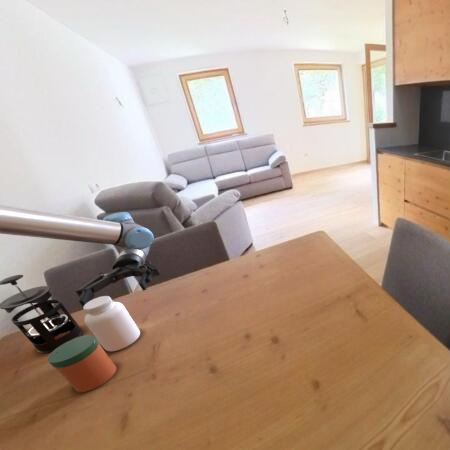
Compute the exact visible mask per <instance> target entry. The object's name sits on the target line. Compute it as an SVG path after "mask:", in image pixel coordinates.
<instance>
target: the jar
mask: <svg viewBox="0 0 450 450" xmlns="http://www.w3.org/2000/svg"><path fill="white" fill-rule="evenodd" d="M54 368H55V369H56V370H57V371H58V372H59V373H60V375H61V376H62V377H63V378H64V380H66V381H67V383H69V385H70V386H71V387H72V388H73V389H74V390H75V391H76V392H78V393H85V392H88V391H89V392H90V391H92V390H94V389H96V388H99V387H100V386H102V385H103V384H105V383H106V382H107V381H109V380H110V379H111V378H112V377H113V376H114V375H115V373H116V372H117V365H116V364H115V363H114V362H113V361H112V359H111V358H110V356H109V355H108V353H106V350H105V349H104V348H103V346H102V345H101V344H100V343H99V344H98V347H97V348H96V349H95V350H94V351H93V352H92V353H91V354H90V355H88V356H87V357H85V358H84V359H82V360H80V361H78V362H76V363H74V364H72V365H69V366H66V367H61V368H56V367H54Z"/></svg>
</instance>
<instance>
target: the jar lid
mask: <svg viewBox="0 0 450 450" xmlns="http://www.w3.org/2000/svg"><path fill="white" fill-rule="evenodd" d="M98 344H99V345H100V342H99V341H98V339H97V338H96V337H95V335H94V334H84V335H81V336H80V337H77V338H74V339H72V340H70V341H68V342H66V343H64V344H62V345H61V346H59V347H58V348H56V349H55V350H54V351H53V352H51V353H49V355H48V357H47V362H48V363H49V364H50V365H51V366H52V367H53V368H55V367H56V368H61V367H66V366H69V365H72V364H74V363H76V362H78V361H80V360H82V359H84V358H85V357H87V356H88V355H90V354H91V353H92V352H93V351H94V350H95V349H96V348H97V347H98ZM56 368H55V369H56Z"/></svg>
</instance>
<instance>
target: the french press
mask: <svg viewBox="0 0 450 450" xmlns="http://www.w3.org/2000/svg"><path fill="white" fill-rule="evenodd" d="M23 277H24V275H23V274H16V275H11V276H9V277H6V278H4V279H2V280H0V286H3V285H8V284H10V285H11V286H14V287H15V288H16V289H17V290H18V291H19V292H18V293H15V294H12V295H11V296H9V297H7V298H6V299H4V300H2V301H1V302H0V309H1V310H5V312H6V313H8V314H10V313H12V312H13V311H14V310H15V309H16V308H18V307H21V306H24V305H28V304H29V306H27V307H25V308H23V309H22V310H19V311H18V312H17V313H15V314H14V315H13V316H12V317H11V319H10V321H11V322H12V323H13V324H14V325H15V326H16V327H17V328H18V329H19V330H20V331H21V333H22V334H23V335H24V336H25V337H26V338H27V339H28V340H29V341H30V342H31V344H32V345H33V347H34V348H35V349H36V351H37V353H38V354H43V355H45V354H51V353H52V352H53V351H54V350H55V349H56V348H58V347H59V346H61V345H62V344H64V343H66V342H68V341H70V340H72V339H74V338H77V337H80V336H83V334H84V332H85V331H84V328H83V327H80V325H79V324H78V322H77V321H76V320H75V318H74V317H73V316H72V315H71V313H70V312H69V311H68V309H66V307H65V305H64V304H63V302H62V301H61V300H60V299H57V298H54V299H52V296H53V294H52V293H51V287H50V286H47V285H42V286H36V287H32V288H29V289H25V290H22V289H21V288H20V287H19V286H18V282H17V281H19V280H21V279H22V278H23ZM50 298H51V299H50ZM53 304H56V305H55V306H54V305H53ZM38 308H39V310H40V311H41V312H42V314H41V312H40V311H39V310H38ZM59 310H62V312H63V313H62V314H60V313H59ZM31 311H35V312H36V313H37V314H38V315H37V316H35V317H33V318H29V319H25V320H21V321H19V319H20V318H21V317H23V316H24V315H26V314H27V313H30V312H31ZM28 325H31V327H30V328H29V329H27V328H26V327H25V326H28ZM62 334H64V335H62ZM59 335H62V336H60V337H58V336H59ZM56 337H58V338H56Z"/></svg>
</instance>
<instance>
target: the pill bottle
mask: <svg viewBox="0 0 450 450" xmlns="http://www.w3.org/2000/svg"><path fill="white" fill-rule="evenodd" d="M82 308H83V310H84V312H85V313H86V314H85V316H84V323H85V325H86V326H87V327H88V329H89V330H90V331H91V333H92V335H93V336H94V337H95V338H96V339H97V341H98V342H99V344H100V346H101V347H102V348H103V350H104V351H107V352H116V351H120V350H123V349H125V348H127V347H129V346H131V345H133V343H134V342H136V341H137V340H138V339H139V337H140V336H141V331H140V329H139V327H138V325H137V324H136V322H135V321H134V320H133V318H132V316H131V315H130V313H129V311H128V310H127V308H126V306H125V305H124V304H123V303H121V302H119V301H114V300H113V299H112V298H111V297H110V296H109V295H102V296H98V297H94V298H93V299H92V300H91V301H89V302H88V303H86V304H85V305H84V307H83V306H82Z"/></svg>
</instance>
